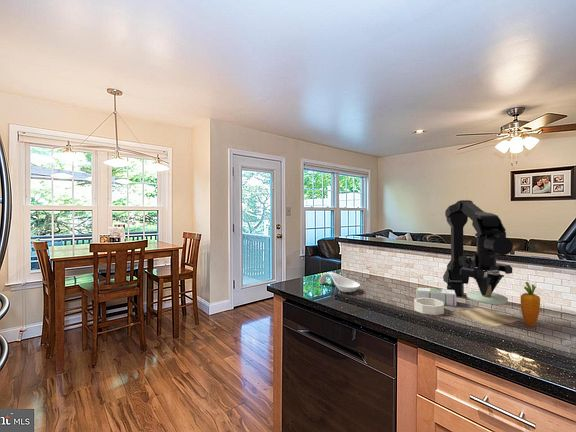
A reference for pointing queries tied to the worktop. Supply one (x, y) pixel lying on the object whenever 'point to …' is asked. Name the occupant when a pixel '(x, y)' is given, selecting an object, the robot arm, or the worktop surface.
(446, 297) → the syrup box
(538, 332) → the worktop surface
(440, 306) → the bowl
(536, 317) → the carrot
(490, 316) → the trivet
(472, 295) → the lid
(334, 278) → the spoon rest
